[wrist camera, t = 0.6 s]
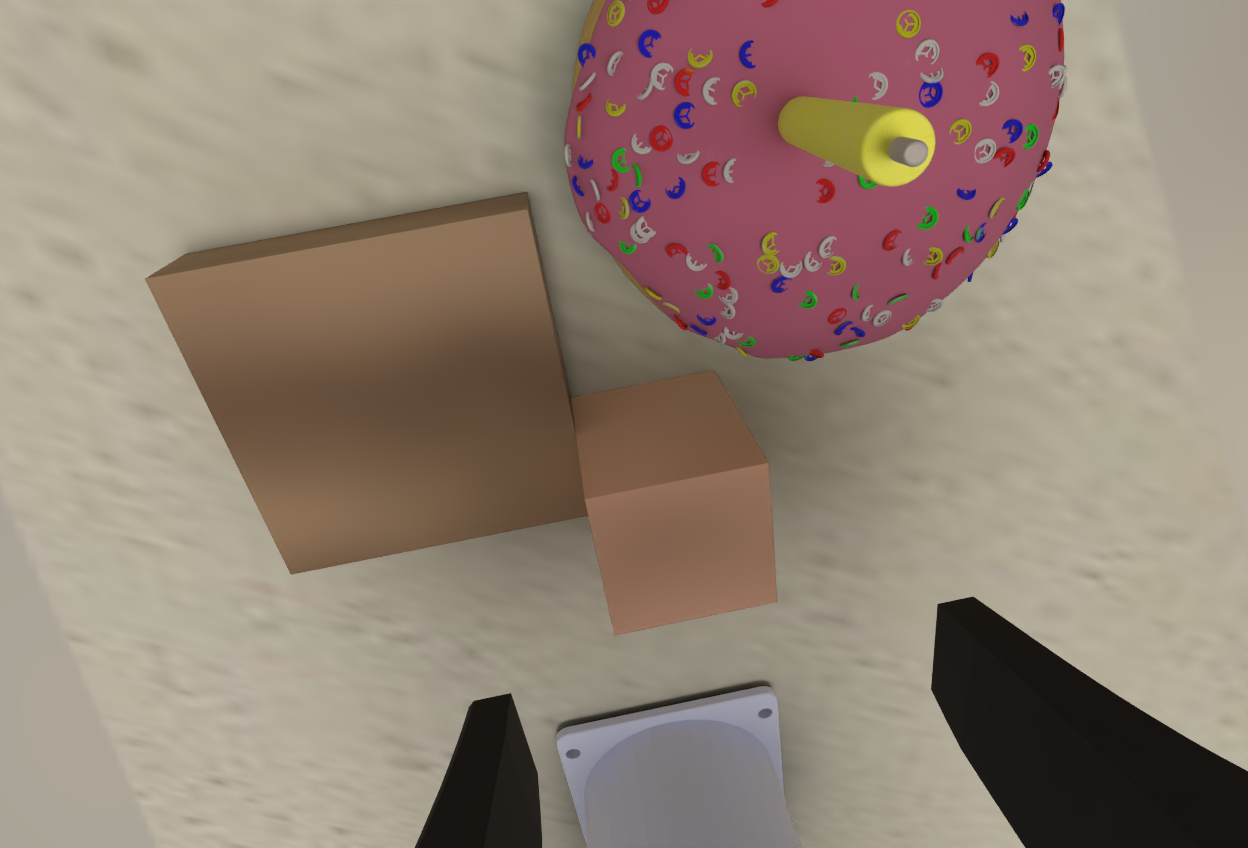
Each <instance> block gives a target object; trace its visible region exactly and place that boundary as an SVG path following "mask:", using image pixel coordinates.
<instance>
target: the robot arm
mask: <svg viewBox="0 0 1248 848" xmlns="http://www.w3.org/2000/svg"><path fill="white" fill-rule="evenodd" d="M931 690H932V692H933V694H934V696H935V698H936V700H937V702H938V704H939V706H940V708H941V710H942V712H943V714H944V717H945V719H946V721H947V723H948V725H949V726H950V728H951V730H952V732H953V734H954V736H955V738H956V740H957V742H958V744H959V746H960V748H961V749H962V751H963V753H964V754H965V756H966V757H967V759H968V761H969V762H970V764H971V765H972V767H973V768H974V770H975V771H976V773H977V774H978V776H979V778H980V779H981V781H982V782H983V784H984V785H985V787H986V788H987V790H988V791H989V793H990V795H991V796H992V798H993V799H994V801H995V802H996V804H997V805H998V807H999V808H1000V810H1001V811H1002V813H1003V814H1004V816H1005V817H1006V819H1007V820H1008V822H1009V823H1010V825H1011V827H1012V828H1013V830H1014V831H1015V833H1016V834H1017V836H1018V837H1019V839H1020V840H1021V842H1022V843H1023V845H1024V846H1025V848H1248V771H1246V770H1244V769H1242V768H1241V767H1239V766H1237V765H1235V764H1233V763H1231V762H1229V761H1228V760H1226V759H1224V758H1222V757H1220V756H1218V755H1216V754H1215V753H1213V752H1211V751H1209V750H1207V749H1206V748H1204V747H1202V746H1200V745H1199V744H1197V743H1195V742H1193V741H1192V740H1190V739H1188V738H1186V737H1185V736H1183V735H1181V734H1180V733H1178V732H1176V731H1175V730H1173V729H1171V728H1170V727H1168V726H1166V725H1165V724H1163V723H1161V722H1160V721H1158V720H1157V719H1155V718H1153V717H1152V716H1150V715H1148V714H1147V713H1145V712H1143V711H1142V710H1140V709H1138V708H1137V707H1135V706H1134V705H1132V704H1130V703H1129V702H1127V701H1126V700H1124V699H1122V698H1121V697H1119V696H1118V695H1116V694H1115V693H1113V692H1112V691H1110V690H1109V689H1107V688H1105V687H1104V686H1102V685H1101V684H1099V683H1098V682H1096V681H1095V680H1093V679H1092V678H1090V677H1089V676H1087V675H1086V674H1084V673H1083V672H1081V671H1080V670H1078V669H1077V668H1075V667H1074V666H1072V665H1071V664H1069V663H1068V662H1066V661H1065V660H1063V659H1062V658H1060V657H1059V656H1058V655H1056V654H1055V653H1053V652H1052V651H1050V650H1049V649H1047V648H1046V647H1045V646H1043V645H1042V644H1040V643H1039V642H1037V641H1036V640H1034V639H1033V638H1032V637H1030V636H1029V635H1027V634H1026V633H1024V632H1023V631H1022V630H1020V629H1019V628H1017V627H1016V626H1014V625H1013V624H1012V623H1010V622H1009V621H1007V620H1006V619H1005V618H1003V617H1002V616H1000V615H999V614H997V613H996V612H995V611H993V610H992V609H990V608H989V607H987V606H986V605H985V604H983V603H982V602H980V601H979V600H977V599H976V598H974V597H969V598H964V599H960V600H955V601H950V602H945V603H940V604H938V608H937V621H936V634H935V647H934V660H933V673H932V686H931ZM556 744H557V749H558V753H559V756H560V759H561V763H562V766H563V769H564V773H565V776H566V779H567V782H568V786H569V789H570V792H571V796H572V799H573V802H574V805H575V809H576V812H577V815H578V819H579V822H580V825H581V829H582V832H583V835H584V838H585V842H586V845H587V848H802V847H801V845H800V842H799V839H798V836H797V833H796V830H795V827H794V824H793V821H792V819H791V816H790V813H789V810H788V807H787V804H786V801H785V798H784V786H783V771H782V757H781V742H780V727H779V712H778V700H777V697H776V694H775V692H774V690H773V689H772V688H771V687H767V686H760V687H756V688H751V689H746V690H741V691H736V692H732V693H727V694H722V695H717V696H713V697H708V698H703V699H698V700H694V701H689V702H684V703H679V704H674V705H670V706H665V707H660V708H655V709H651V710H646V711H641V712H636V713H632V714H627V715H622V716H617V717H612V718H608V719H603V720H598V721H593V722H589V723H584V724H579V725H574V726H570V727H566V728H563V729H562V730H560V731H559V732H558V734H557V735H556ZM415 848H542V831H541V814H540V800H539V786H538V773H537V770H536V767H535V764H534V761H533V758H532V755H531V752H530V749H529V746H528V743H527V740H526V737H525V734H524V731H523V728H522V725H521V722H520V719H519V716H518V713H517V710H516V707H515V704H514V701H513V698H512V695H511V693H510V694H505V695H500V696H495V697H491V698H486V699H481V700H476V701H474V702H473V703H472V704H471V705H470V707H469V709H468V712H467V715H466V718H465V722H464V725H463V728H462V731H461V733H460V736H459V739H458V742H457V745H456V748H455V751H454V753H453V756H452V759H451V761H450V764H449V767H448V769H447V772H446V774H445V777H444V780H443V782H442V785H441V787H440V790H439V792H438V795H437V797H436V799H435V802H434V804H433V806H432V809H431V811H430V814H429V816H428V818H427V821H426V823H425V825H424V828H423V830H422V833H421V835H420V837H419V839H418V842H417V844H416V846H415Z"/></svg>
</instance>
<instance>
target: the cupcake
mask: <svg viewBox="0 0 1248 848" xmlns="http://www.w3.org/2000/svg"><path fill="white" fill-rule="evenodd" d="M1064 11H1065V7H1064V5H1063V4H1062V3H1061V0H594V2H593V4H592V6H591V9H590V11H589V13H588V16H587V19H586V21H585V24H584V28H583V31H582V36H581V40H580V45H579V49H578V54H577V58H576V63H575V69H574V76H573V86H572V100H571V105H570V109H569V114H568V118H567V124H566V130H565V161H566V165H567V172H568V177H569V182H570V186H571V190H572V194H573V197H574V201H575V204H576V206H577V209H578V212H579V214H580V217H581V219H582V221H583V223H584V225H585V226H586V228H587V230H588V231H589V233H590V234H591V235H592V236H593V238H594V239H595V240H596V241H597V242H598V243H599V244H600V245H602V246H603V247H604V248H605V249H606V250H607V251H608V252H609V253H610V254H611V255H612V256H613V258H614V260H615V261H616V263H617V264H618V266H619V267H620V268H621V270H622V271H623V272H624V273H625V274H626V276H627V277H628V278H629V279H630V280H631V281H632V282H633V283H634V284H635V285H636V286H637V288H638V289H639V290H640V291H641V292H642V293H643V294H644V295H645V296H646V297H648V298H649V299H650V300H651V301H652V302H653V303H654V304H655V305H656V306H657V307H658V308H659V309H660V310H661V311H662V312H663V313H665V314H666V315H667V316H668V317H670V318H671V319H672V320H673V321H674V322H675V323H677V324H678V325H679V327H680V328H681V329H683V330H689V331H691V332H694V333H696V334H699V335H702V336H704V337H707V338H710V339H713V340H715V341H716V342H718V343H720V344H726V345H729V346H731V347H734V348H736V349H738V350H739V352H740V353H741V354H742V355H743V356H744V357H745V358H747V357H748V356H747V355H746V354H745V353H747V354H750V355H752V356H754V357H759V358H789V360H791V361H796V360H799V359H801V358H803V357H804V358H805V360H807V361H813V360H815V359H817V358H823V357H824V353H829V352H834V351H839V350H843V349H848V348H852V347H857V346H861V345H865V344H869V343H872V342H875V341H878V340H881V339H884V338H886V337H889V336H891V335H893V334H895V333H897V332H899V331H901V330H903V329H905V330H910V329H911V328H912V327H914V326H915V325H916V324H917V323H918V321H919V319H920V317H922V316H923V315H924V314H926V313H927V312H933V311H936V310H938V309H939V308H940V307H941V306H942V305H943V301H942V300H943V299H944V298H945V297H947V296H948V295H949V294H950V293H951V292H953V291H954V290H955V289H956V288H957V287H958V286H959V285H960V284H961V283H962V282H963V281H965V280H966V279H967V278H968V282H971V279H972V275H973V272H974V271H975V270H976V268H977V267H978V266H979V265H980V264H981V263H982V262H983V261H984V259H985V258H986V257H987V258H992V257H993V256H994V254H995V253H996V251H997V249H998V246H999V238H1000V242H1003V241H1004V234H1006V233H1008V232H1009V231H1011V230H1012V229H1013V228H1014V227H1015V226H1016V225H1017V223H1018V219H1017V218H1015V217H1016V215H1017V212H1018V210H1021V209H1022V208H1023V207H1024V206H1025V204H1026V202H1027V200H1028V198H1029V196H1030V193H1031V190H1032V187H1033V184H1034V181H1035V179H1036V178H1037V177H1039V176H1041V175H1043V174H1045V173H1046V172H1047V171H1049V170H1050V169H1051V167H1052V162H1048V160H1049V158H1050V152H1049V151H1048V150H1047V147H1048V143H1049V140H1050V137H1051V133H1052V129H1053V126H1054V122H1055V119H1056V117H1057V114H1058V110H1059V100H1060V98H1061V97H1062V96H1063V95H1064V93H1065V91H1066V87H1067V78H1066V76H1065V74H1066V66H1065V65H1064V32H1063V20H1062V19H1063V16H1064ZM1061 88H1062V89H1061ZM1044 158H1045V160H1044ZM1043 160H1044V162H1043ZM1045 166H1047V167H1046V168H1045V169H1044V167H1045ZM1040 171H1041V172H1040ZM1039 172H1040V173H1039ZM1011 223H1012V225H1011V226H1009V225H1010V224H1011ZM1005 229H1006V230H1005ZM991 252H992V253H991ZM936 305H937V306H936ZM934 306H935V307H934ZM810 355H812V357H809V356H810Z"/></svg>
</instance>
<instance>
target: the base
mask: <svg viewBox="0 0 1248 848" xmlns="http://www.w3.org/2000/svg"><path fill="white" fill-rule="evenodd" d="M145 280H146V282H147V284H148V286H149V288H150V290H151V292H152V294H153V296H154V298H155V300H156V302H157V304H158V306H159V308H160V310H161V313H162V315H163V317H164V319H165V321H166V323H167V325H168V327H169V329H170V331H171V333H172V335H173V337H174V339H175V341H176V343H177V345H178V347H179V349H180V351H181V353H182V355H183V357H184V359H185V361H186V363H187V365H188V367H189V369H190V371H191V373H192V375H193V377H194V379H195V381H196V383H197V385H198V387H199V389H200V391H201V394H202V396H203V398H204V400H205V402H206V404H207V406H208V408H209V410H210V412H211V414H212V416H213V418H214V420H215V422H216V424H217V426H218V428H219V430H220V432H221V434H222V436H223V438H224V440H225V442H226V444H227V446H228V448H229V450H230V452H231V454H232V456H233V458H234V460H235V462H236V464H237V466H238V468H239V470H240V472H241V475H242V477H243V479H244V481H245V483H246V485H247V487H248V489H249V491H250V493H251V495H252V497H253V499H254V501H255V503H256V505H257V507H258V509H259V511H260V513H261V515H262V517H263V519H264V521H265V523H266V525H267V527H268V529H269V531H270V533H271V535H272V537H273V539H274V541H275V543H276V545H277V547H278V549H279V551H280V554H281V556H282V558H283V560H284V562H285V564H286V566H287V568H288V570H289V572H290V574H296V573H301V572H306V571H311V570H316V569H321V568H326V567H331V566H336V565H341V564H346V563H351V562H357V561H362V560H367V559H372V558H377V557H382V556H387V555H392V554H397V553H402V552H407V551H412V550H417V549H422V548H427V547H432V546H437V545H442V544H447V543H452V542H457V541H462V540H467V539H472V538H477V537H482V536H487V535H492V534H497V533H502V532H507V531H512V530H517V529H522V528H527V527H533V526H538V525H543V524H548V523H553V522H558V521H563V520H568V519H573V518H578V517H583V516H588V512H587V508H586V503H585V498H584V490H583V483H582V476H581V468H580V461H579V453H578V446H577V439H576V431H575V424H574V417H573V409H572V402H571V397H570V392H569V387H568V383H567V378H566V373H565V368H564V364H563V359H562V354H561V349H560V345H559V340H558V335H557V331H556V326H555V321H554V316H553V312H552V307H551V302H550V297H549V293H548V288H547V283H546V278H545V274H544V269H543V264H542V259H541V255H540V250H539V245H538V241H537V236H536V231H535V226H534V222H533V217H532V212H531V207H530V203H529V198H528V193H527V192H525V193H519V194H514V195H508V196H503V197H497V198H492V199H486V200H481V201H475V202H470V203H464V204H459V205H453V206H448V207H442V208H437V209H431V210H426V211H420V212H415V213H409V214H404V215H398V216H393V217H387V218H382V219H376V220H371V221H365V222H359V223H354V224H348V225H343V226H337V227H332V228H326V229H321V230H315V231H310V232H304V233H299V234H293V235H288V236H282V237H277V238H271V239H266V240H260V241H255V242H249V243H244V244H238V245H233V246H227V247H222V248H216V249H211V250H205V251H200V252H194V253H188V254H185V255H183V256H182V257H180V258H178V259H177V260H175V261H173V262H172V263H170V264H168V265H167V266H165V267H164V268H162V269H160V270H159V271H157V272H155V273H154V274H152V275H150V276H149V277H147V278H146V279H145Z"/></svg>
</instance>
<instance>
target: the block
mask: <svg viewBox="0 0 1248 848" xmlns="http://www.w3.org/2000/svg"><path fill="white" fill-rule="evenodd" d="M571 402H572V409H573V417H574V424H575V431H576V439H577V446H578V453H579V461H580V468H581V476H582V483H583V490H584V498H585V503H586V508H587V512H588V517H589V521H590V526H591V531H592V535H593V540H594V544H595V549H596V554H597V558H598V563H599V567H600V572H601V577H602V581H603V586H604V591H605V595H606V600H607V604H608V609H609V614H610V618H611V623H612V627H613V632H614V635H619V634H624V633H629V632H634V631H638V630H643V629H648V628H653V627H658V626H663V625H668V624H672V623H677V622H682V621H687V620H692V619H697V618H702V617H706V616H711V615H716V614H721V613H726V612H731V611H736V610H740V609H745V608H750V607H755V606H760V605H765V604H770V603H774V602H777V590H776V574H775V557H774V541H773V525H772V508H771V492H770V476H769V463H768V461H767V459H766V457H765V456H764V454H763V452H762V451H761V449H760V447H759V446H758V444H757V442H756V440H755V439H754V437H753V435H752V434H751V432H750V430H749V429H748V427H747V425H746V423H745V422H744V420H743V418H742V417H741V415H740V413H739V412H738V410H737V408H736V407H735V405H734V403H733V401H732V400H731V398H730V396H729V395H728V393H727V391H726V390H725V388H724V386H723V384H722V383H721V381H720V379H719V378H718V376H717V374H716V373H715V371H714V370H712V371H707V372H701V373H696V374H691V375H686V376H681V377H675V378H670V379H665V380H660V381H654V382H649V383H644V384H639V385H634V386H628V387H623V388H618V389H613V390H608V391H602V392H597V393H592V394H587V395H582V396H576V397H571Z"/></svg>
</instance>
